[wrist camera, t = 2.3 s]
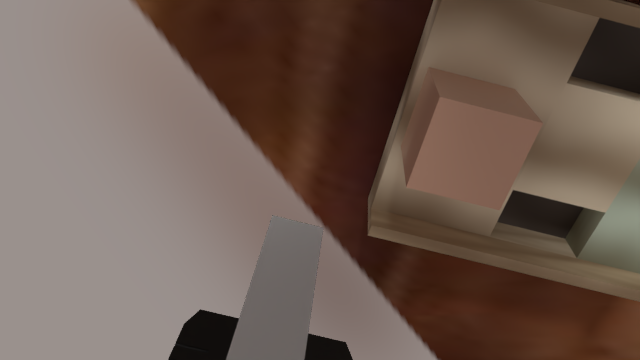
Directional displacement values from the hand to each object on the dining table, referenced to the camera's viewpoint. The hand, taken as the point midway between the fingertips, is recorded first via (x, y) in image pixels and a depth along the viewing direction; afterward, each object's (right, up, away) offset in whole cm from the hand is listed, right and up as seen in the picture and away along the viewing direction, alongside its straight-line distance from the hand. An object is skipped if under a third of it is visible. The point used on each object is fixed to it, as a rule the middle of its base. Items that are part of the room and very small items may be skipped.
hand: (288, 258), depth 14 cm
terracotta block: (+9, +6, +14) cm, 17 cm away
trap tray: (+16, +5, +16) cm, 23 cm away
